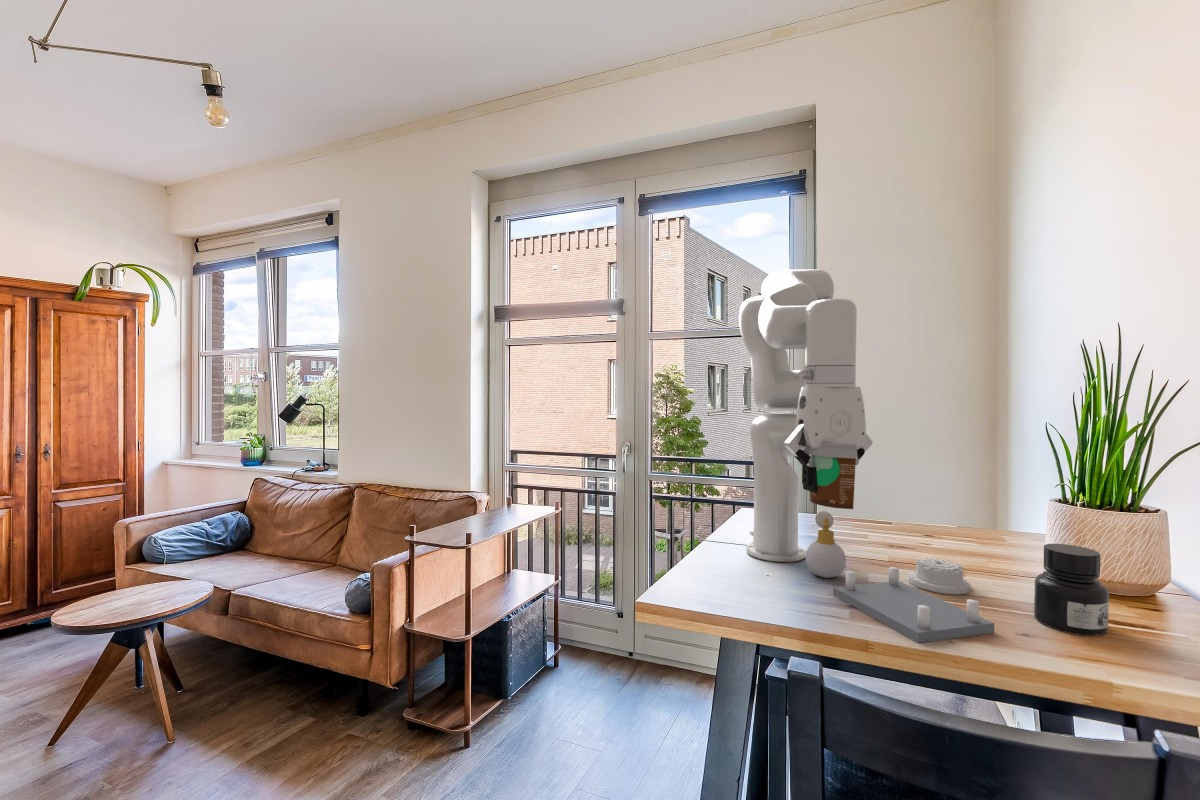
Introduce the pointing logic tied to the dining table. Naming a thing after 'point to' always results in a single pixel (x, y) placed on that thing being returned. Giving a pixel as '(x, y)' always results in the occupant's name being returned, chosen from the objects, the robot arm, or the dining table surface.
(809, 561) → the perfume bottle
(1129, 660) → the dining table surface
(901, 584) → the seating plate
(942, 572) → the white cake
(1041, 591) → the ink bottle
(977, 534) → the dining table surface
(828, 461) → the food container
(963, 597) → the dining table surface
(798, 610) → the dining table surface
